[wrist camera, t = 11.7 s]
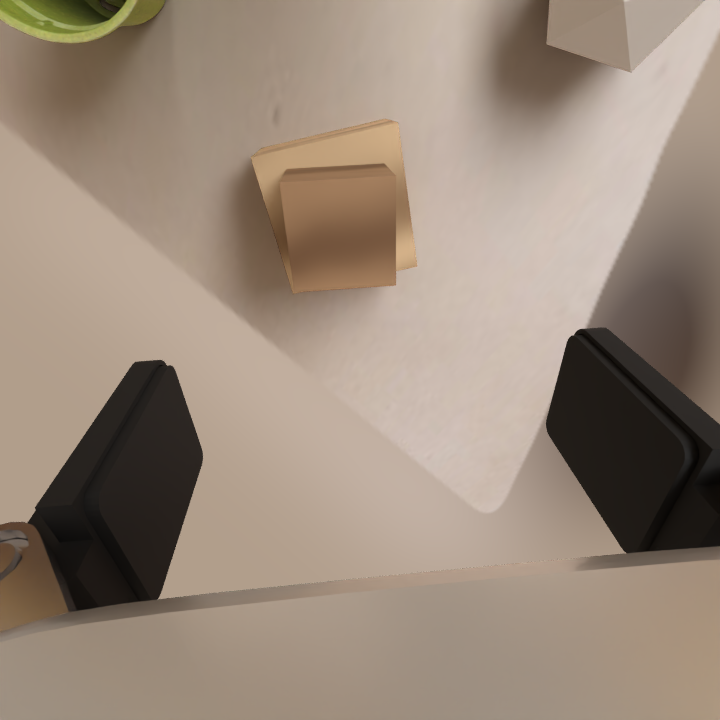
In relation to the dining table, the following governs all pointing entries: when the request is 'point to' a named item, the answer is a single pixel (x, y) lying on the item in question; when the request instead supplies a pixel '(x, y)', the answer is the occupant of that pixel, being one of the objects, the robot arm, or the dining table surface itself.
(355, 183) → the walnut block
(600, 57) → the die
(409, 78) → the dining table surface
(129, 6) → the plant pot
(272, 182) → the oak base
